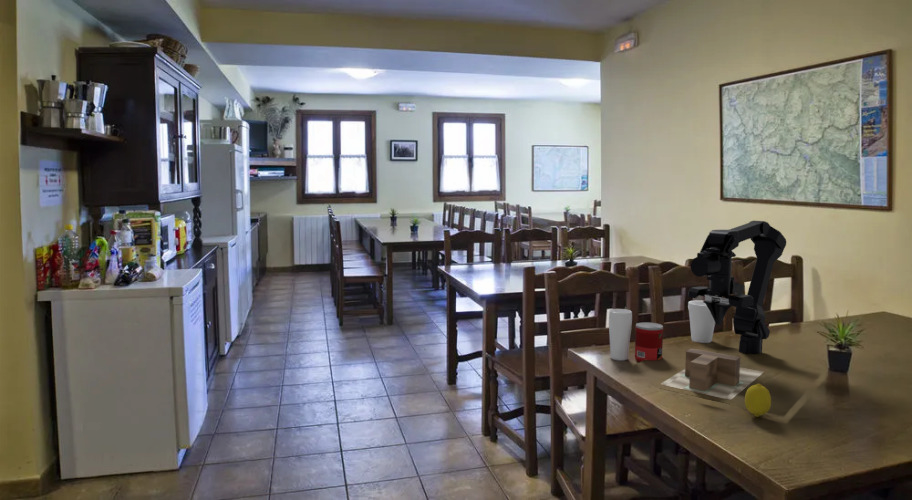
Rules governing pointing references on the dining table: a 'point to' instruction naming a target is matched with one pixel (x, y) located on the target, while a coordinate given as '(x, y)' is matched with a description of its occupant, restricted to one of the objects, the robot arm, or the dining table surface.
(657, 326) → the canned food
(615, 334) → the light grey tumbler
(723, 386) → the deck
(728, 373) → the t block
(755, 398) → the lemon
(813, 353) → the dining table surface
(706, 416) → the dining table surface
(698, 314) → the foam cup
